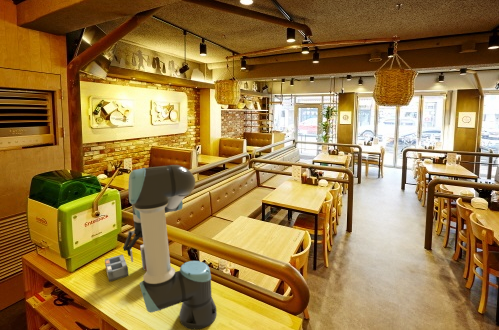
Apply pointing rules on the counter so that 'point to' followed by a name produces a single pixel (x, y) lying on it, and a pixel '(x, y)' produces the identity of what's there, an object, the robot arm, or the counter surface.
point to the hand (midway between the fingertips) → (145, 256)
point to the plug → (143, 256)
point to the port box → (116, 267)
